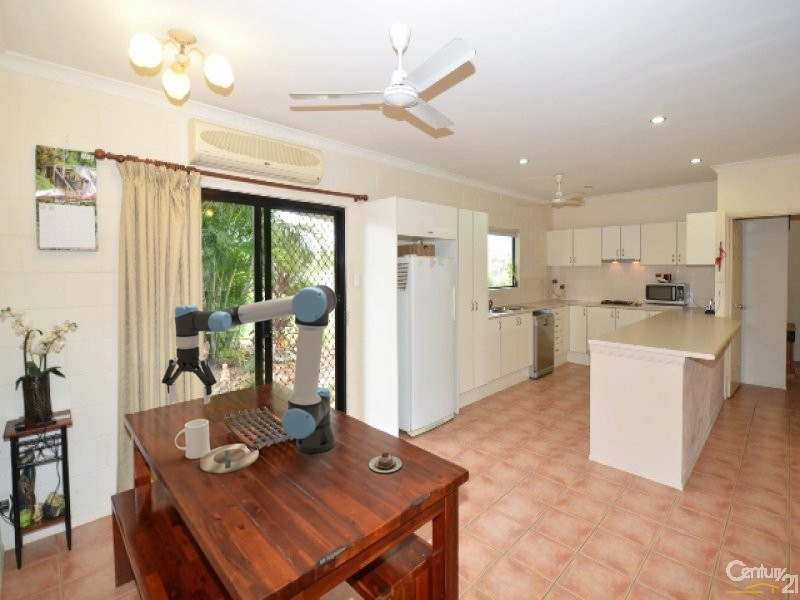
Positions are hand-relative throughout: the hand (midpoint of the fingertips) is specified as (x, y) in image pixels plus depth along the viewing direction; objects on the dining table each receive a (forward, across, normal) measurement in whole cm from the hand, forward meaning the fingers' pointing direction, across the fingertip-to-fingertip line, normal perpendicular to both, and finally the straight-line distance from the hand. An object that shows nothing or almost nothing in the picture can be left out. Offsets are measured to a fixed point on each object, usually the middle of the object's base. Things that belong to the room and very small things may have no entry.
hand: (190, 402), depth 148 cm
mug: (+20, -1, 0) cm, 21 cm away
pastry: (+20, -74, 0) cm, 77 cm away
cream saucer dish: (+20, -16, +2) cm, 26 cm away
